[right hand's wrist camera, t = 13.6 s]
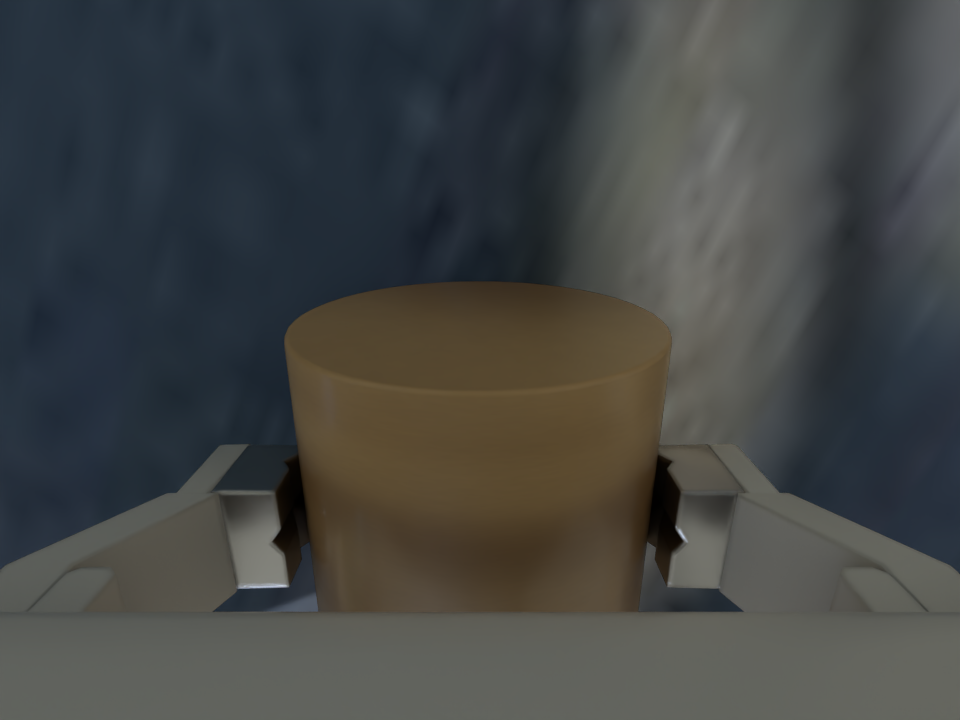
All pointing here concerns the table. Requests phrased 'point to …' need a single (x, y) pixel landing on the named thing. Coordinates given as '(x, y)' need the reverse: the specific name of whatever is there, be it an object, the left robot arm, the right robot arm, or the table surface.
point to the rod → (478, 447)
